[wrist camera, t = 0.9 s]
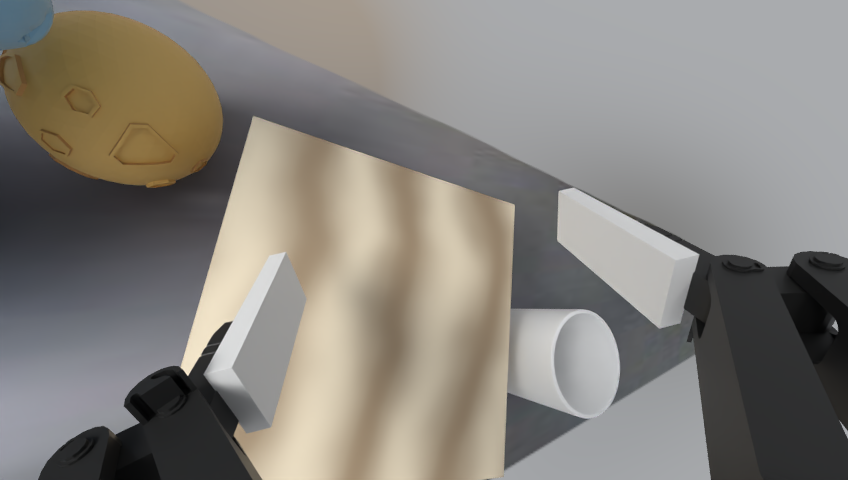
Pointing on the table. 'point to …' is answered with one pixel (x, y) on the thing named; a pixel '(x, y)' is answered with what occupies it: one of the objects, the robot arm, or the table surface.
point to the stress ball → (114, 100)
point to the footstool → (370, 312)
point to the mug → (563, 360)
